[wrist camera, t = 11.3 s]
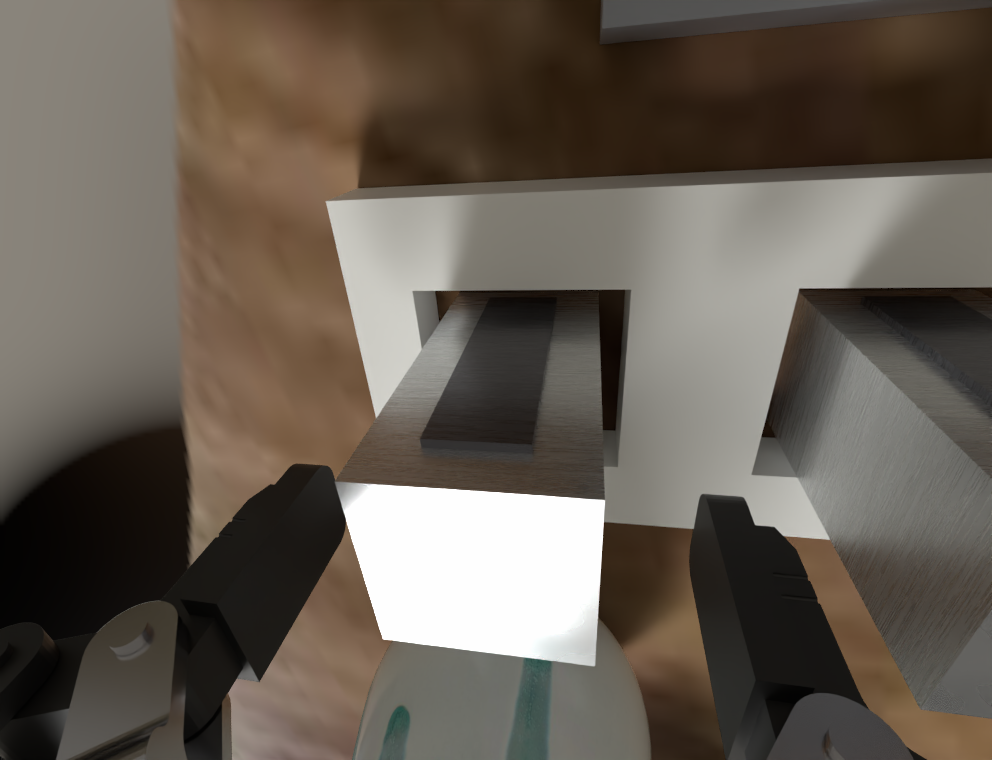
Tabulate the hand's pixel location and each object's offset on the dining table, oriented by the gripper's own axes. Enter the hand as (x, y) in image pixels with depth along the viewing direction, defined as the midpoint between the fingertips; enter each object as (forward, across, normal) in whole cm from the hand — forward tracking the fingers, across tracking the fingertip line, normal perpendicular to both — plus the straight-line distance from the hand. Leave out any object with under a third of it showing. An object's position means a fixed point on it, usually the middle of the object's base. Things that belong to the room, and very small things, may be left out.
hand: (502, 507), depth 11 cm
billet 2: (+7, -10, 0) cm, 12 cm away
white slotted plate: (+7, -5, 0) cm, 8 cm away
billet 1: (+7, 0, 0) cm, 7 cm away
